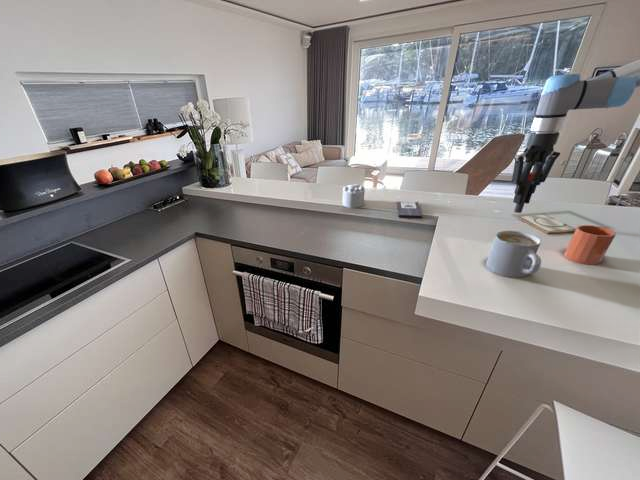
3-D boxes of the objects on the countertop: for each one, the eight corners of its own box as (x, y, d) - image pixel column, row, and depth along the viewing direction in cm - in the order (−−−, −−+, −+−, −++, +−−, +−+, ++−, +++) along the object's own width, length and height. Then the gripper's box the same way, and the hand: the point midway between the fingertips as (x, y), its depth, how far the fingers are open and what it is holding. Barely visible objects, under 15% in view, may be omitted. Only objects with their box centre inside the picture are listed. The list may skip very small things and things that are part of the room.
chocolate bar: (399, 215, 123) (397, 201, 138) (398, 217, 124) (397, 203, 138) (421, 215, 120) (417, 201, 135) (421, 217, 121) (417, 203, 135)
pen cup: (583, 251, 89) (597, 224, 84) (608, 263, 82) (624, 235, 77) (557, 252, 89) (569, 226, 85) (579, 265, 82) (594, 237, 78)
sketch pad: (568, 213, 113) (569, 211, 112) (607, 230, 99) (608, 227, 98) (515, 217, 114) (516, 215, 113) (547, 234, 100) (548, 232, 100)
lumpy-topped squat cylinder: (363, 199, 148) (364, 182, 144) (364, 207, 137) (365, 190, 133) (342, 199, 150) (343, 183, 146) (342, 208, 140) (342, 190, 135)
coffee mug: (479, 260, 89) (489, 231, 84) (515, 260, 87) (526, 230, 82) (503, 284, 78) (515, 252, 73) (544, 284, 76) (559, 251, 71)
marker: (518, 210, 106) (531, 172, 99) (523, 212, 104) (537, 173, 97) (512, 211, 106) (524, 172, 99) (516, 213, 104) (529, 174, 97)
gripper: (560, 128, 95) (535, 197, 106) (512, 133, 95) (492, 201, 107) (580, 130, 88) (551, 204, 100) (528, 135, 89) (505, 207, 101)
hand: (520, 202), depth 103 cm, fingers closed on marker, 2 cm apart
